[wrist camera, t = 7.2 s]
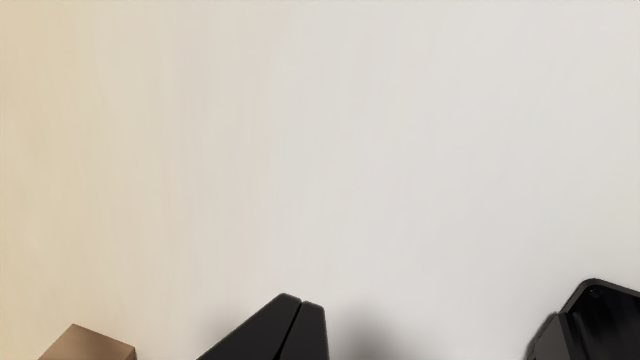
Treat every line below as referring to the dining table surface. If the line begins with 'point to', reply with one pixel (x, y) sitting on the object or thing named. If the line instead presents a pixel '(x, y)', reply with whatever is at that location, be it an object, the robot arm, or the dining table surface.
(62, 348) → the walnut block two
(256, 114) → the dining table surface
